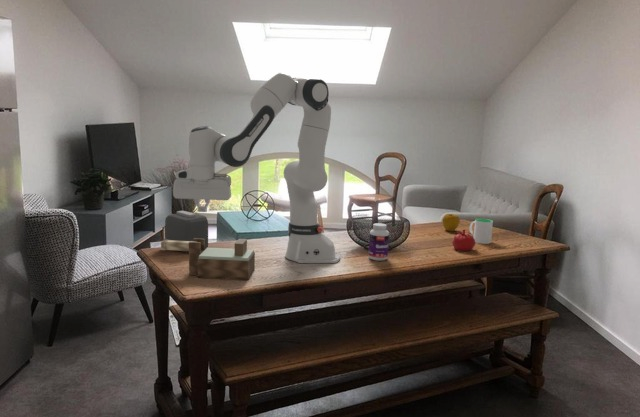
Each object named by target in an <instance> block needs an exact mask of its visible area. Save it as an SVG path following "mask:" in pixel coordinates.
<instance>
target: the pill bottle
mask: <svg viewBox="0 0 640 417" xmlns="http://www.w3.org/2000/svg"><path fill="white" fill-rule="evenodd" d="M387 228H388V225H387V224H385V223H380V222H378V223H377V222H376V223H373V224H372V229H371V230H370V231H369V235H368V237H369V238H368V239H369V240H368V254H367V255H368V256H367V257H368V258H369V260H373V261H377V262H378V261H380V262H382V261H386V260H387V259H388V258H389V245H390V244H389V243H390V232H389V230H387Z"/></svg>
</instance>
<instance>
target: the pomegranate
mask: <svg viewBox="0 0 640 417" xmlns="http://www.w3.org/2000/svg"><path fill="white" fill-rule="evenodd" d="M451 243H452V246H453V249H455V250H456V251H459V252H469V251H471V250H473V249H474V247H475V246H476V242H475V239H474V236H473V235H472V234H471V233H470V231H469V232H468V231H467V232H466V229H462V232H460V231H457V232H456V235H455V236H454V237H453V239H452V241H451Z"/></svg>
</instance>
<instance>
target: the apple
mask: <svg viewBox="0 0 640 417" xmlns="http://www.w3.org/2000/svg"><path fill="white" fill-rule="evenodd" d="M442 224H443V228H444V230H445V231H447V232H454V231H455V230H457V228H458V227H459V224H460V217H459V216H458V215H457V214H453V213H446V214H444V215H443V217H442Z"/></svg>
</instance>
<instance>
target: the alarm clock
mask: <svg viewBox="0 0 640 417" xmlns="http://www.w3.org/2000/svg"><path fill="white" fill-rule="evenodd" d="M164 222H165V223H164V225H165V226H164V228H165V230H164V232H165V240H174V241H193V239H194V238H201V239H205V249H206V248H209V221H208V217H206V216H205V215H202V214H200V213H194V212H191V211H185V210H178V211H176V213H172V214H169V215H167V216H166V217H165V219H164ZM181 252H182V253H186V252H189V251H181Z"/></svg>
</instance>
